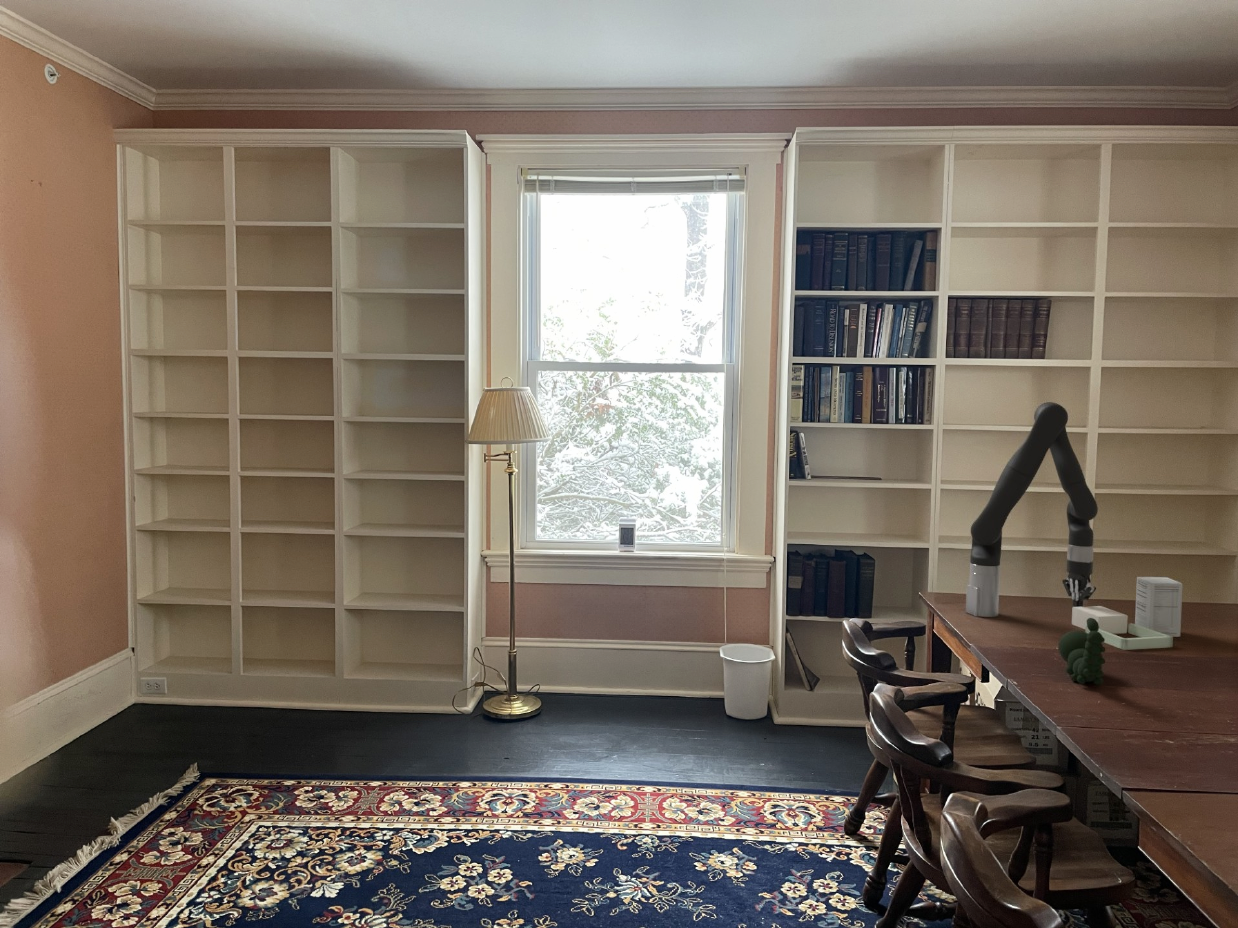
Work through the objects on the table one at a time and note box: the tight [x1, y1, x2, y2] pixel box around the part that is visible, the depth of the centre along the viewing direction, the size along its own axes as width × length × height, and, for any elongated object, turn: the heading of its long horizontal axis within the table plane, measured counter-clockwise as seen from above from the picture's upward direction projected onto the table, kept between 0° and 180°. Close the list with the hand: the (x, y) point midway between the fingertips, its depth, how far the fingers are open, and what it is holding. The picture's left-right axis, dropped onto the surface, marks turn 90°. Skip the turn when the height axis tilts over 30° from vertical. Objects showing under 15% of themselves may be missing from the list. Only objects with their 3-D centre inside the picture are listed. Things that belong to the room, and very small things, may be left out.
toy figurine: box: [1057, 618, 1107, 686], centre depth 222 cm, size 9×19×25 cm
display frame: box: [1084, 623, 1174, 651], centre depth 257 cm, size 16×16×3 cm
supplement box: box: [1134, 576, 1183, 638], centre depth 265 cm, size 10×9×17 cm
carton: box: [1071, 605, 1129, 635], centre depth 271 cm, size 10×12×6 cm
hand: (1077, 611), depth 278 cm, fingers closed
